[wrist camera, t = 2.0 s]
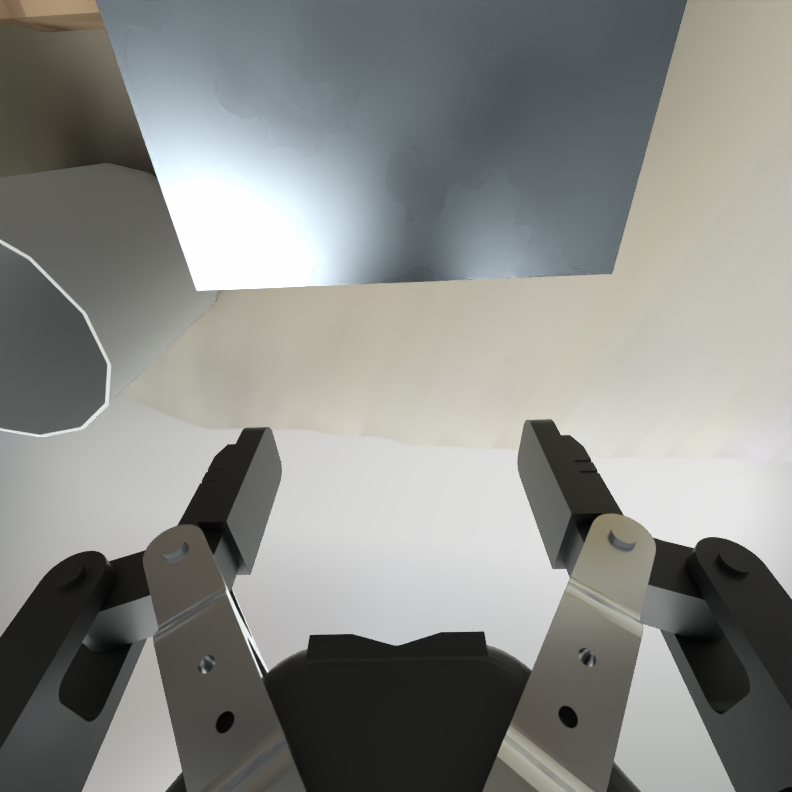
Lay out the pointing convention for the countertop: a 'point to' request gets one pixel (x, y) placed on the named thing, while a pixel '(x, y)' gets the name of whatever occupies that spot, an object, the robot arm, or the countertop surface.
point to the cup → (85, 292)
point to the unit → (394, 132)
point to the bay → (52, 14)
